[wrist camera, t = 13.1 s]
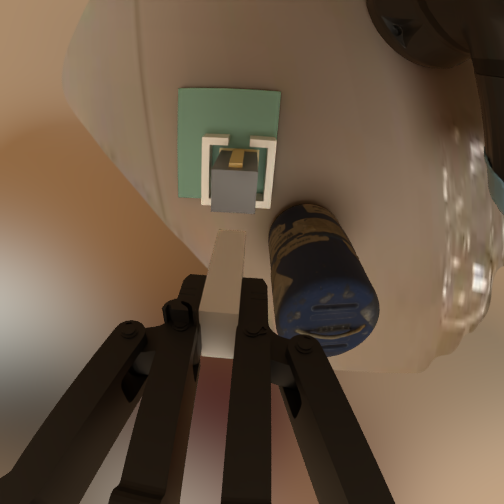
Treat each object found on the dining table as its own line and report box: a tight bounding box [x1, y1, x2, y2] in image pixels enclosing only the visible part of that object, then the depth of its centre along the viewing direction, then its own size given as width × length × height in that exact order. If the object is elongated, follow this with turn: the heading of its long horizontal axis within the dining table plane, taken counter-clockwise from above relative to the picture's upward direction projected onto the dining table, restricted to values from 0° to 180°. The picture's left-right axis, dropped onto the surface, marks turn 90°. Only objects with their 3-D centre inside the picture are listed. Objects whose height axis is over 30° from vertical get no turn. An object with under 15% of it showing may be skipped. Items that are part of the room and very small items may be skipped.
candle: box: [268, 204, 379, 357], centre depth 31 cm, size 10×10×18 cm
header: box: [201, 134, 277, 209], centre depth 32 cm, size 8×8×2 cm
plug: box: [211, 149, 258, 214], centre depth 30 cm, size 4×4×8 cm
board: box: [178, 88, 281, 198], centre depth 32 cm, size 13×11×1 cm
